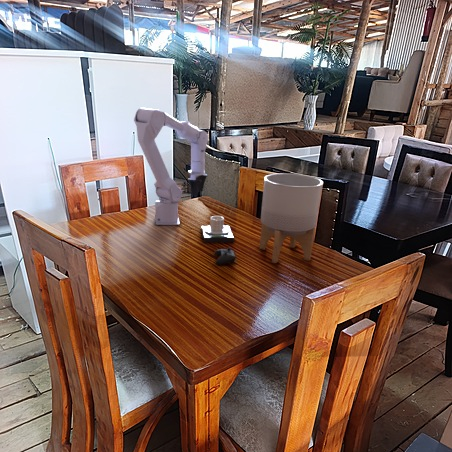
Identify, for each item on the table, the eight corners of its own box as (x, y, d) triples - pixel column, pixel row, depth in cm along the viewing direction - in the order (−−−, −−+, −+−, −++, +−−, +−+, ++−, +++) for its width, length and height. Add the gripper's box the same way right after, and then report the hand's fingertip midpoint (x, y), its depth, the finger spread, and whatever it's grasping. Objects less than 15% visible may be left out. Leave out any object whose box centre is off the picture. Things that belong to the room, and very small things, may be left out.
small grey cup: (209, 231, 152) (209, 219, 149) (210, 226, 156) (211, 215, 154) (223, 232, 151) (223, 220, 149) (224, 227, 156) (224, 216, 154)
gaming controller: (213, 252, 138) (225, 240, 136) (223, 262, 140) (236, 251, 138) (214, 263, 129) (228, 251, 128) (225, 274, 132) (239, 262, 130)
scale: (204, 242, 148) (204, 236, 147) (201, 230, 159) (201, 224, 158) (233, 242, 149) (233, 236, 148) (228, 230, 161) (228, 224, 159)
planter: (300, 269, 131) (312, 189, 118) (248, 256, 138) (254, 180, 126) (317, 251, 145) (330, 178, 133) (270, 240, 153) (277, 170, 140)
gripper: (193, 157, 173) (193, 188, 179) (183, 163, 160) (183, 196, 167) (209, 158, 171) (208, 190, 178) (200, 164, 159) (199, 198, 166)
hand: (197, 193), depth 172 cm, fingers open, 7 cm apart
